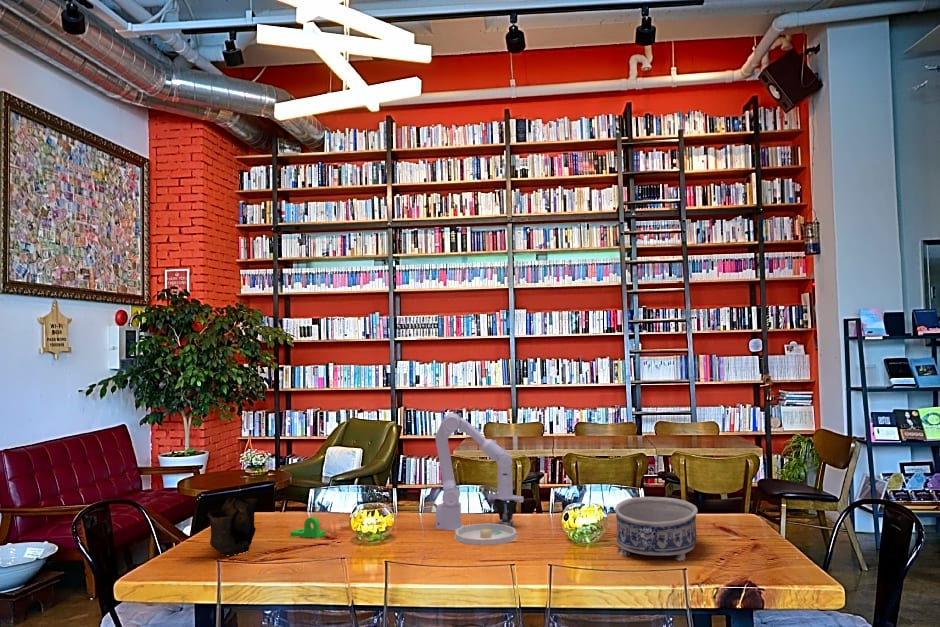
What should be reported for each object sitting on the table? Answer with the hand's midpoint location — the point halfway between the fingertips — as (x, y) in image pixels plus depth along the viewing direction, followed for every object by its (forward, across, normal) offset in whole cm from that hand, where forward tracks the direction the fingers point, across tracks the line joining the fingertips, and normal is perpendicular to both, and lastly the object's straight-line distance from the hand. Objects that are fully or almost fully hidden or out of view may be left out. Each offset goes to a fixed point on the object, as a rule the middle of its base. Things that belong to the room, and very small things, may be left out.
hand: (505, 519), depth 281 cm
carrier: (+3, 0, -18) cm, 18 cm away
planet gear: (+3, 0, 0) cm, 3 cm away
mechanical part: (+3, -63, -41) cm, 75 cm away
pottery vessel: (+3, -72, -69) cm, 100 cm away
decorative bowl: (+3, +60, -9) cm, 61 cm away
